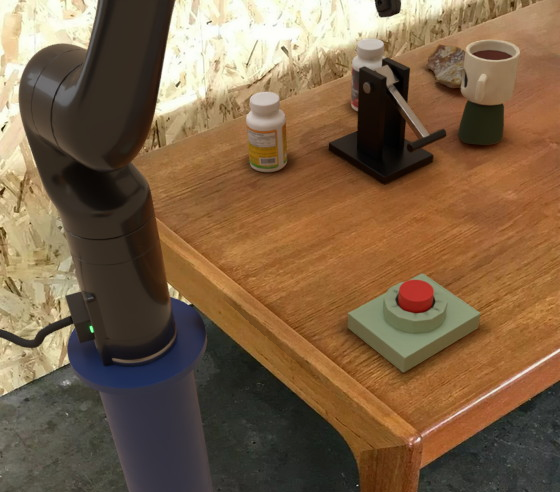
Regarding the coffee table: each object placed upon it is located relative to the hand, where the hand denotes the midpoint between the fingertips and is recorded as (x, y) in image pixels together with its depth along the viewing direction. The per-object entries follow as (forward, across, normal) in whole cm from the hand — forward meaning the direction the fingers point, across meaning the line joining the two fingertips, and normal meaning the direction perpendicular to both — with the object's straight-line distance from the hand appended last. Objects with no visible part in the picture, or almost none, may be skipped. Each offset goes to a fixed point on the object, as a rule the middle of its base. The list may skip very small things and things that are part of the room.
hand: (390, 15), depth 91 cm
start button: (+31, -14, -9) cm, 35 cm away
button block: (+34, -13, -7) cm, 37 cm away
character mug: (+16, +23, +8) cm, 29 cm away
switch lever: (+11, +8, +8) cm, 16 cm away
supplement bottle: (+13, -2, +25) cm, 28 cm away
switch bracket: (+15, +10, +15) cm, 24 cm away
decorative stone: (+7, +36, +19) cm, 41 cm away
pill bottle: (+8, +19, +24) cm, 32 cm away
